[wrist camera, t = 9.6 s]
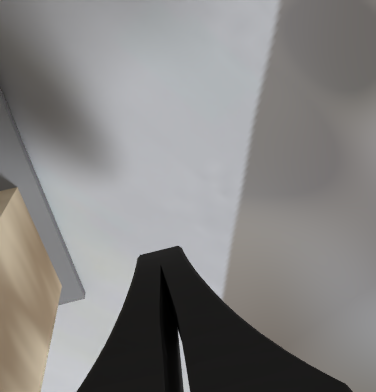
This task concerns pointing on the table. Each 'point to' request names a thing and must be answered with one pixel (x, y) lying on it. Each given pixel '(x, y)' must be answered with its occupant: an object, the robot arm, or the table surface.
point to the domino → (24, 298)
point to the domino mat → (35, 203)
